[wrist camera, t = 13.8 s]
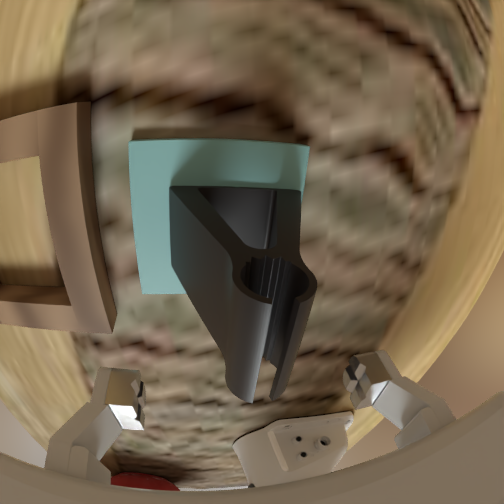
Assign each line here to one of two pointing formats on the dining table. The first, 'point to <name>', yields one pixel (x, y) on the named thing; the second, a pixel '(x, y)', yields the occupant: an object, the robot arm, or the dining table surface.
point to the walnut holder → (62, 223)
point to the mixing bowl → (142, 481)
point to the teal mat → (197, 174)
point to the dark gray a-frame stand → (244, 275)
